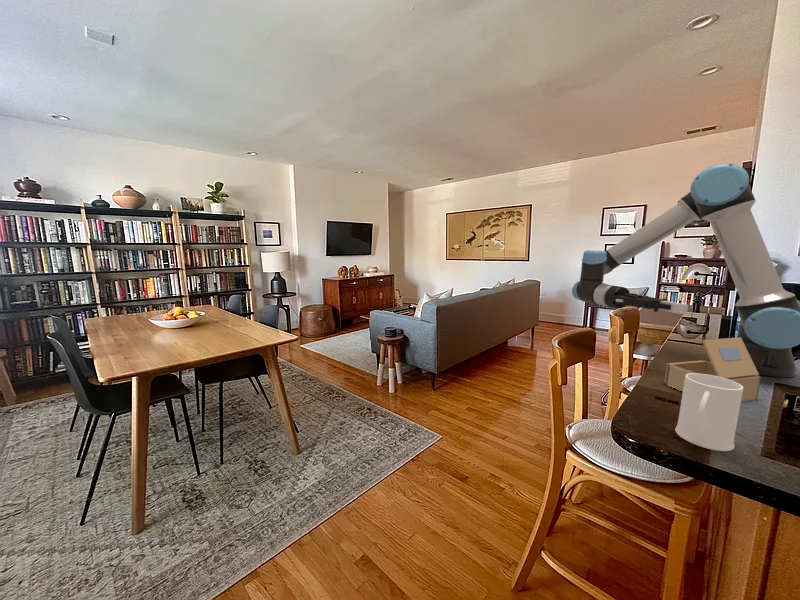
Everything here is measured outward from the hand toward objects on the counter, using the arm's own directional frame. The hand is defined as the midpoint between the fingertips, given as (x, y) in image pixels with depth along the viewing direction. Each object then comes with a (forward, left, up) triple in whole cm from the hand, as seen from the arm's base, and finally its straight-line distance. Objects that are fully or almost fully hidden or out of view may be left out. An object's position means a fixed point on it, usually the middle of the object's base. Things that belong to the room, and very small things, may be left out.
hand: (685, 309), depth 90 cm
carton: (0, +8, -21) cm, 22 cm away
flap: (0, +14, -15) cm, 20 cm away
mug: (+28, +25, -21) cm, 43 cm away
